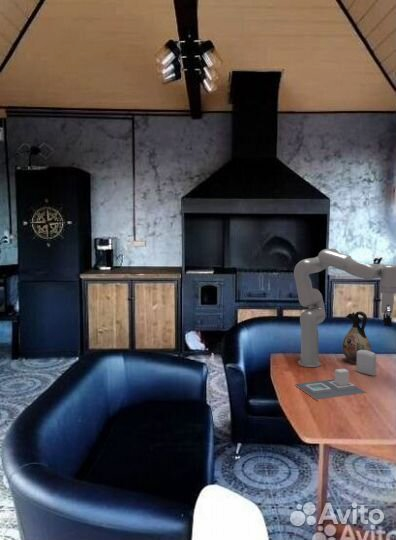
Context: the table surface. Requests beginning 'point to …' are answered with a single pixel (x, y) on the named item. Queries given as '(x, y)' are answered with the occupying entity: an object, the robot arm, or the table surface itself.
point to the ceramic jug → (355, 337)
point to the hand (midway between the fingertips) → (387, 323)
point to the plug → (342, 377)
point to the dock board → (328, 389)
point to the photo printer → (366, 362)
